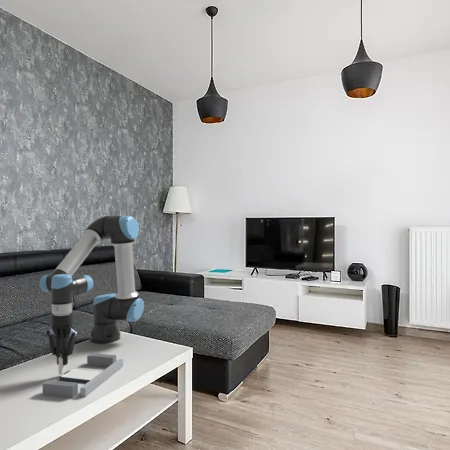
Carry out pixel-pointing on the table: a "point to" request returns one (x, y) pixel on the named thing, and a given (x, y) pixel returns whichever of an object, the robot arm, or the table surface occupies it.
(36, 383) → the table surface
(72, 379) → the smartphone
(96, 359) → the grey u-shaped piece
